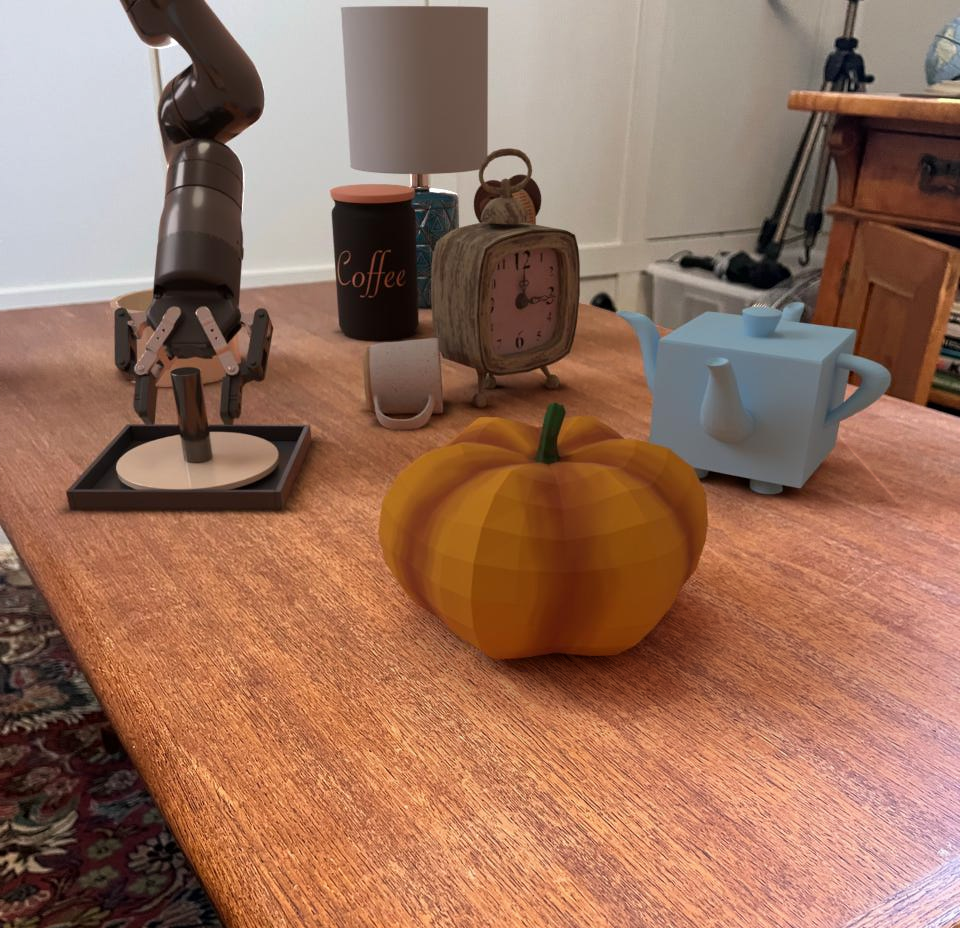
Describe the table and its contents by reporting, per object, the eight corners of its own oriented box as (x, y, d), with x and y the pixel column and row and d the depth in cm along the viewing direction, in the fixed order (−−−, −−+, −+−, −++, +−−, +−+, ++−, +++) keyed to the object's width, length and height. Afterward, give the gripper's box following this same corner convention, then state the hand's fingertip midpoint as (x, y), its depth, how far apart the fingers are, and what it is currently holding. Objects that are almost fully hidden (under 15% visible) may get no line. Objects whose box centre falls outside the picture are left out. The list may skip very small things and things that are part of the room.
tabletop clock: (476, 416, 107) (476, 156, 95) (425, 396, 113) (418, 149, 101) (574, 390, 115) (587, 147, 103) (522, 372, 121) (527, 141, 109)
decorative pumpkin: (384, 557, 79) (374, 364, 71) (664, 549, 80) (684, 359, 72) (380, 704, 61) (367, 471, 54) (737, 691, 63) (774, 461, 55)
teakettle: (883, 499, 89) (921, 328, 81) (686, 521, 85) (707, 343, 77) (775, 429, 104) (799, 280, 97) (604, 444, 100) (615, 291, 93)
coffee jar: (328, 341, 133) (317, 193, 124) (355, 322, 142) (347, 182, 133) (405, 346, 131) (400, 196, 122) (428, 326, 140) (425, 185, 131)
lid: (96, 501, 87) (74, 396, 82) (144, 443, 99) (127, 348, 94) (264, 502, 87) (251, 396, 82) (291, 443, 99) (282, 348, 94)
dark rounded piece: (527, 366, 124) (532, 188, 113) (427, 349, 130) (423, 179, 120) (582, 339, 135) (590, 174, 124) (487, 325, 141) (487, 167, 131)
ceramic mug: (368, 401, 112) (364, 330, 108) (442, 399, 112) (441, 329, 108) (364, 435, 103) (359, 360, 99) (444, 434, 103) (443, 359, 99)
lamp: (391, 325, 141) (377, 5, 121) (339, 297, 155) (318, 8, 136) (510, 309, 149) (515, 6, 129) (450, 284, 163) (446, 9, 144)
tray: (70, 513, 86) (65, 491, 85) (130, 443, 100) (126, 424, 99) (282, 513, 86) (280, 491, 85) (311, 443, 100) (310, 424, 99)
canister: (108, 389, 116) (93, 313, 111) (142, 356, 127) (130, 286, 123) (227, 389, 115) (217, 313, 111) (250, 356, 127) (242, 286, 123)
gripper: (106, 227, 89) (88, 400, 85) (270, 227, 89) (259, 401, 85) (135, 277, 96) (119, 439, 92) (286, 278, 96) (277, 440, 92)
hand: (186, 420), depth 89 cm, fingers open, 6 cm apart
